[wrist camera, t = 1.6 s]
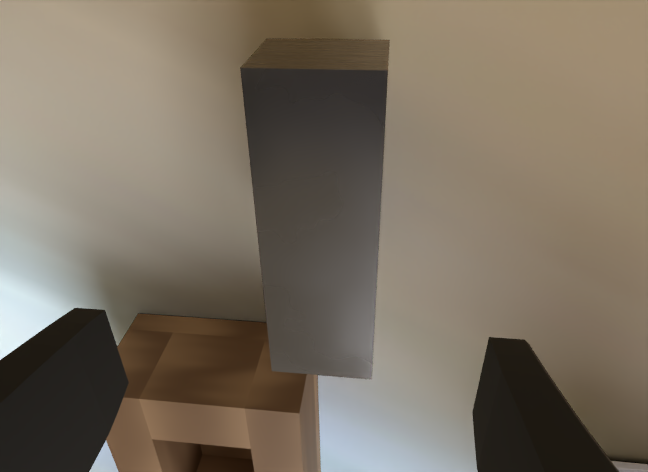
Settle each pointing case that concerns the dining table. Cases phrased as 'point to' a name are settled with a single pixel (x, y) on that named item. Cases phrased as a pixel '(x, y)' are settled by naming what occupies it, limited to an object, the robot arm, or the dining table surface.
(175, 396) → the wooden slotted block
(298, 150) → the grey rectangular block
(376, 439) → the dining table surface
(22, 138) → the dining table surface
